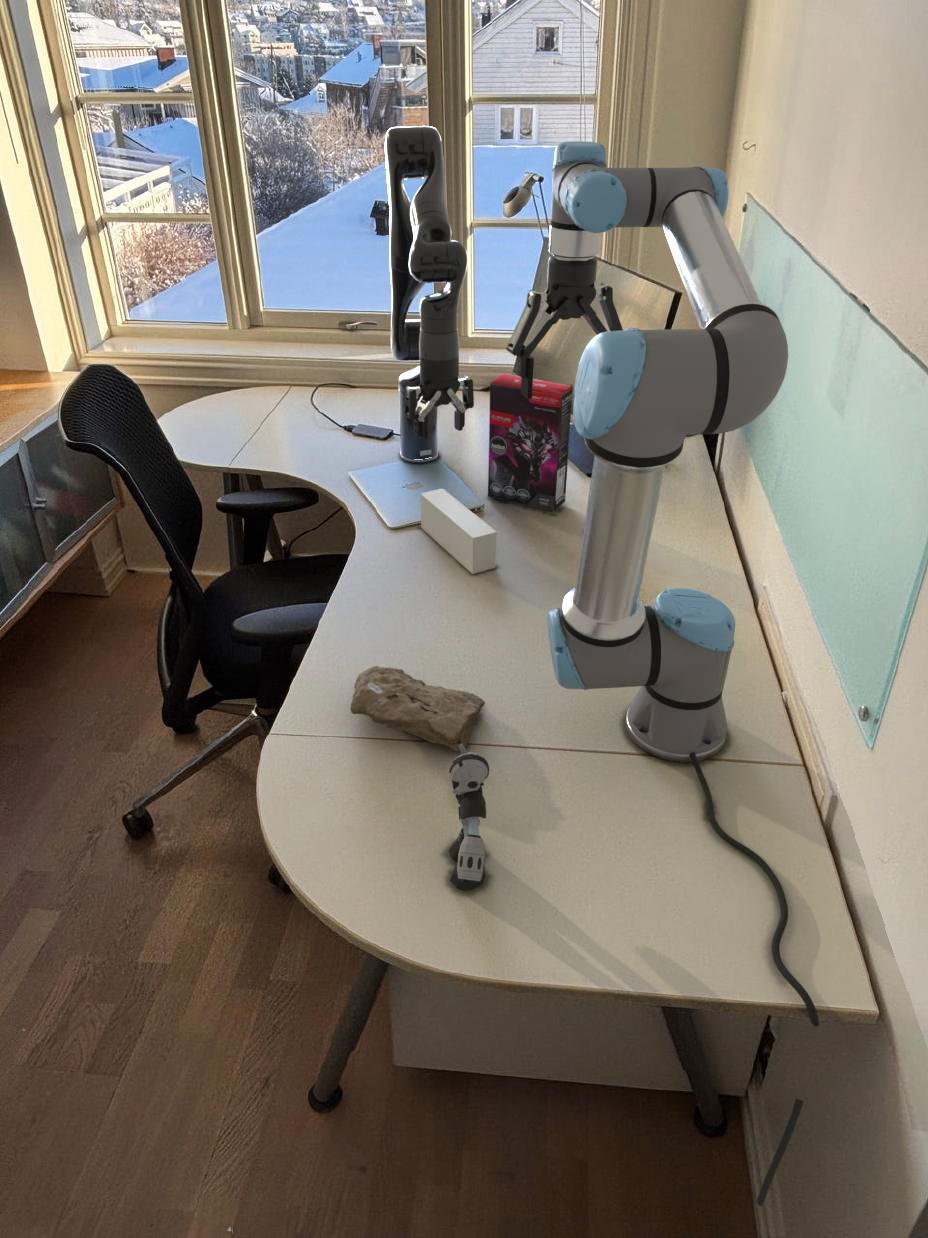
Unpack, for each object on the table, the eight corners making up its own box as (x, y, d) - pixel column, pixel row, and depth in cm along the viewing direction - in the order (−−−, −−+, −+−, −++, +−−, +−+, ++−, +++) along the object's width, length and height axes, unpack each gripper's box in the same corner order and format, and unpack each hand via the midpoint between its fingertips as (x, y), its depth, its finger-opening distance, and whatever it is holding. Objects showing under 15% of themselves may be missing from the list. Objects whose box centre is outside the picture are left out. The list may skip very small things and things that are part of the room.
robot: (491, 927, 112) (496, 809, 101) (451, 928, 112) (451, 811, 101) (481, 809, 129) (484, 697, 117) (446, 811, 128) (445, 698, 117)
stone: (324, 722, 139) (331, 687, 137) (361, 683, 152) (368, 651, 150) (454, 769, 135) (464, 735, 133) (480, 725, 149) (489, 694, 147)
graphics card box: (485, 497, 209) (487, 380, 194) (498, 486, 214) (502, 371, 199) (554, 514, 203) (562, 394, 188) (566, 502, 208) (575, 384, 193)
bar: (495, 567, 184) (496, 531, 179) (472, 574, 182) (473, 538, 177) (442, 522, 200) (442, 488, 195) (420, 527, 198) (420, 493, 193)
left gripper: (462, 341, 180) (461, 420, 189) (396, 352, 174) (399, 433, 183) (481, 352, 175) (480, 433, 184) (414, 363, 169) (416, 446, 178)
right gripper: (631, 244, 147) (618, 374, 159) (488, 256, 140) (485, 392, 151) (656, 254, 142) (641, 388, 153) (508, 267, 134) (503, 407, 146)
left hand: (439, 433), depth 184 cm, fingers open, 8 cm apart
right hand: (563, 390), depth 152 cm, fingers open, 13 cm apart
